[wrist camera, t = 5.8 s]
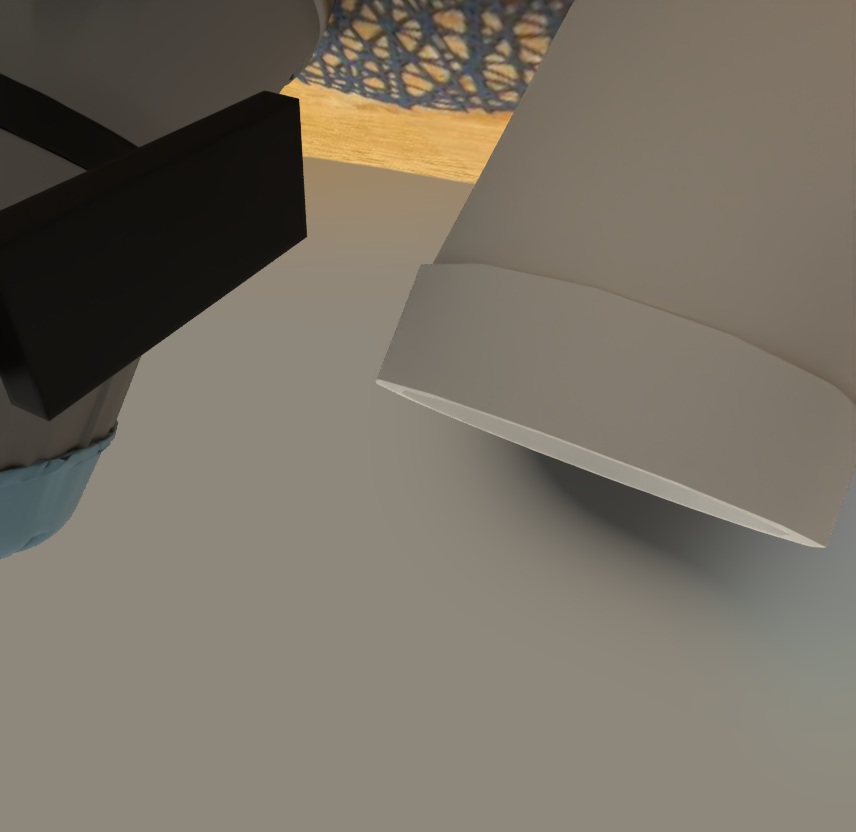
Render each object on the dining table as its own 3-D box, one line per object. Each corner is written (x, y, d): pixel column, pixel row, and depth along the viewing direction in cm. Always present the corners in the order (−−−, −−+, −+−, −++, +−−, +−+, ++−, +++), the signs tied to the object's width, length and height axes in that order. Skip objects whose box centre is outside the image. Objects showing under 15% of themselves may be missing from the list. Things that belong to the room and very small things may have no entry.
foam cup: (851, 73, 22) (688, 509, 21) (546, -62, 21) (373, 388, 20) (1233, -192, 12) (949, 588, 12) (698, -457, 11) (381, 367, 11)
